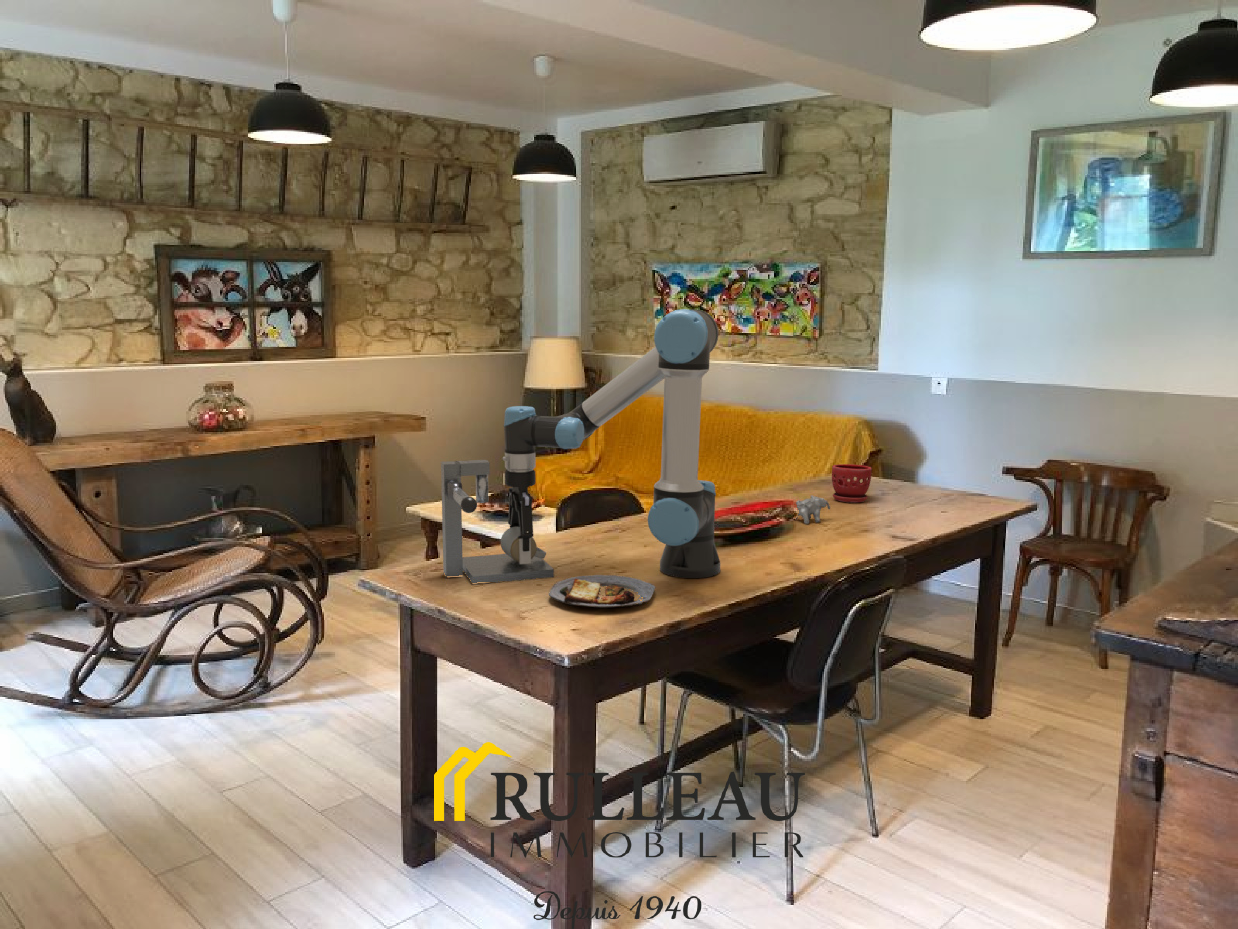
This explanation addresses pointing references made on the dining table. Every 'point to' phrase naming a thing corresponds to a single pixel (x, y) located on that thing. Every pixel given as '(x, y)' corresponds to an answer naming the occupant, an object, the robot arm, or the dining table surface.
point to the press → (453, 562)
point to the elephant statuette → (811, 508)
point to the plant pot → (851, 482)
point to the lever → (461, 497)
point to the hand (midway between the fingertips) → (520, 558)
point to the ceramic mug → (512, 544)
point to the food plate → (588, 590)
